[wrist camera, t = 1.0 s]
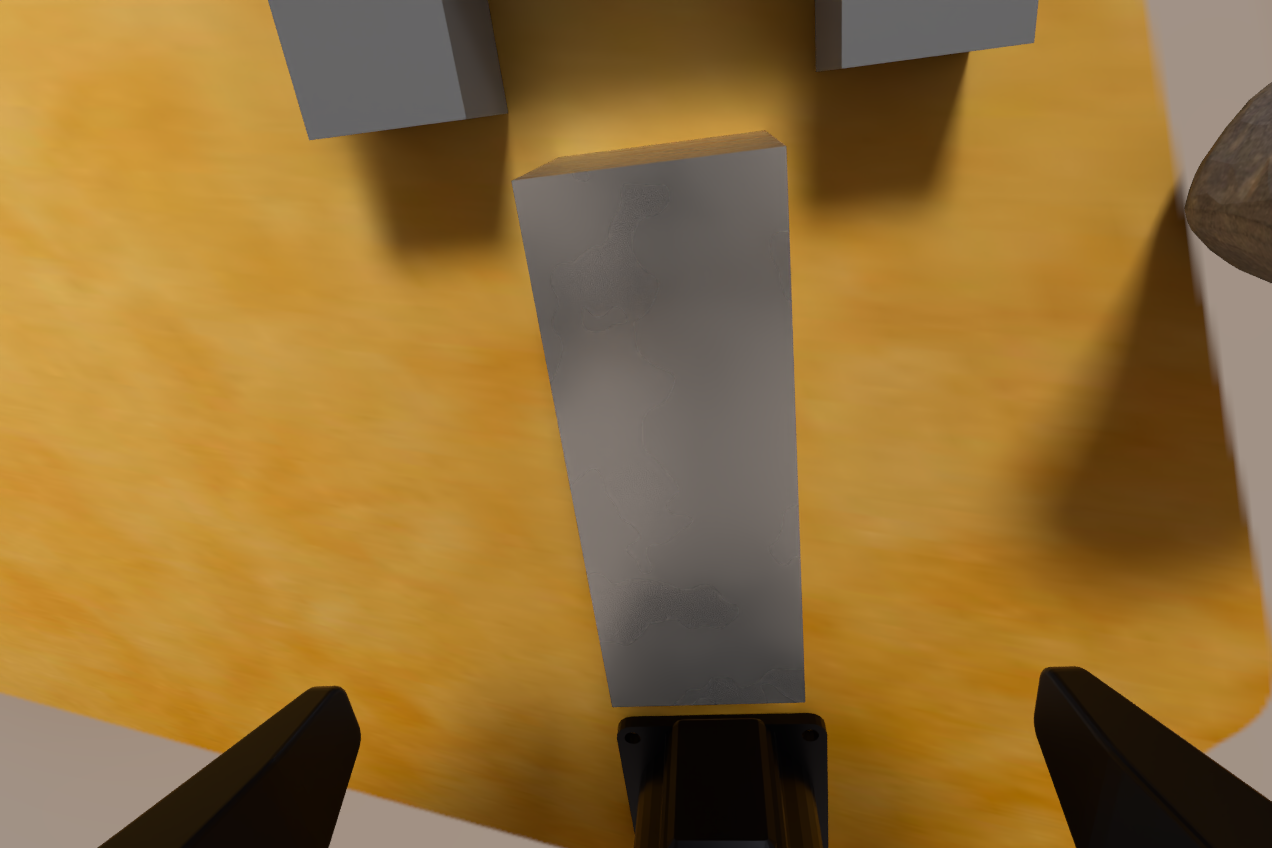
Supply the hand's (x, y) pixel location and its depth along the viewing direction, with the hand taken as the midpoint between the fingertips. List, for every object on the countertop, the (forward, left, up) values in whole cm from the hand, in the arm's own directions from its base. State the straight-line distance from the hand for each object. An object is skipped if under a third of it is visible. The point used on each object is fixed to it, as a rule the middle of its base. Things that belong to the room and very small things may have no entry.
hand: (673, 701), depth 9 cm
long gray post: (0, 0, -10) cm, 10 cm away
